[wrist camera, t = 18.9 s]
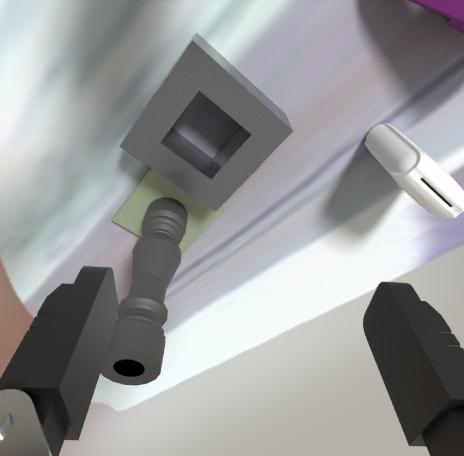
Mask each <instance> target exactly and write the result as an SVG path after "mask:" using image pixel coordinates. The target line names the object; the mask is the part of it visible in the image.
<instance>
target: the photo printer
mask: <svg viewBox="0 0 464 456" xmlns="http://www.w3.org/2000/svg"><path fill="white" fill-rule="evenodd" d="M364 143H365V145H366V147H367V148H368V150H369V151H370V152H371V153H372V155H373V156H374V157H375V158H376V159H377V160H378V161H379V162H380V164H381V165H382V166H383V167H384V168H385V169H386V171H387V172H388V173H389V174H390V175H391V176H392V178H393V179H394V180H395V181H396V182H397V184H398V185H399V186H400V187H401V188H402V189H403V190H404V191H405V192H406V193H407V194H408V195H409V196H411V197H412V198H413V199H414V200H415V201H416V202H417V203H418V204H420V205H421V206H422V207H423V208H424V209H426V210H427V211H428V212H430V213H431V214H433V215H435V216H437V217H440V218H443V219H454V218H456V217H457V216H458V215H459V214H460V213H462V212H464V191H463V189H462V188H461V187H460V186H459V185H458V184H457V183H456V181H455V180H454V179H453V178H452V177H451V176H450V175H449V174H448V173H447V172H446V171H445V170H444V169H442V168H441V167H440V166H439V165H438V164H437V163H436V162H435V161H434V160H433V159H431V158H430V157H429V156H428V155H427V154H426V153H424V152H423V151H422V150H421V149H420V148H419V147H418V146H416V145H415V144H414V143H413V142H412V141H411V140H409V139H408V138H407V137H406V136H405V135H403V134H402V133H401V132H400V131H398V130H397V129H396V128H394V127H393V126H391V125H390V124H388V123H386V122H385V123H384V124H379V125H377V126H375V127H374V128H372V129H371V130H370V131H369V133H368V134H367V136H366V141H365V142H364Z"/></svg>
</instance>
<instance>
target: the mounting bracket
mask: <svg viewBox="0 0 464 456" xmlns="http://www.w3.org/2000/svg"><path fill="white" fill-rule="evenodd" d="M409 1H411V2H413V3H416V4H418V5H420V6H422V7H425V8H427V9H429V10H432V11H434V12H436V13H438V14H441V15H443V16H445V17H447V18H449V21H448V23H449V24H450V25H451V26H452V27H454V28H455V29H457V30H459V31H461V32H463V33H464V0H409Z"/></svg>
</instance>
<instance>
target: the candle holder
mask: <svg viewBox="0 0 464 456" xmlns="http://www.w3.org/2000/svg"><path fill="white" fill-rule="evenodd" d="M187 220H188V213H187V210H186V208H185V206H184V205H183V204H182V203H181V202H179V201H177V200H175V199H173V198H166V197H163V198H158V199H155V200H154V201H153V202H151V203H150V204H149V206H148V208H147V210H146V213H145V216H144V219H143V222H142V236H143V237H142V238H141V239H139V240H138V241H137V243H136V245H135V247H134V249H133V283H132V286H131V290H130V293H129V296H128V297H127V298H125V299H123V300H122V301H121V303H120V305H119V307H118V317H119V319H118V320H117V321H116V325H115V328H114V331H113V334H112V337H111V340H110V343H109V347H108V350H107V353H106V356H105V359H104V362H103V365H102V368H101V371H100V373H101V374H102V375H103V376H104V377H106V378H107V379H109V380H111V381H113V382H116V383H120V384H124V385H141V384H147V383H149V382H151V381H153V380H155V379H156V378H157V377H158V376H159V375H160V372H161V366H162V360H163V354H164V348H165V336H164V330H163V329H162V327H161V326H163V325H164V323H165V322H166V321H167V312H168V311H167V308H166V306H165V305H164V298H165V293H166V289H167V287H168V285H169V283H170V281H171V279H172V278H173V276H174V274H175V272H176V270H177V268H178V267H179V265H180V262H181V250H180V247H179V244H180V243H181V241H182V239H183V236H184V235H185V233H186V226H187Z"/></svg>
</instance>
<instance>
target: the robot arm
mask: <svg viewBox="0 0 464 456" xmlns="http://www.w3.org/2000/svg"><path fill="white" fill-rule="evenodd" d="M37 314H38V315H37V317H35V319H34V320H33V322H32V324H31V326H30V329H29V331H27V333H26V334H25V336H24V338H23V340H22V341H21V343H20V345H19V347H18V349H17V350H16V352H15V354H14V356H13V357H12V359H11V361H10V363H9V364H8V366H7V368H6V370H5V371H4V373H3V375H2V377H1V378H0V456H59V453H60V450H61V447H62V445H63V442H64V440H79V437H80V434H81V431H82V428H83V424H84V421H85V418H86V415H87V412H88V409H89V406H90V403H91V400H92V396H93V393H94V390H95V387H96V384H97V381H98V378H99V375H100V371H101V368H102V365H103V362H104V359H105V356H106V353H107V350H108V347H109V343H110V340H111V337H112V334H113V331H114V328H115V325H116V321H117V315H118V300H117V294H116V287H115V281H114V274H113V270H112V268H109V267H91V266H84V267H82V269H81V270H80V272H79V274H78V276H77V278H76V280H75V282H74V284H61V285H60V286H59V287H58V288H57V289H55V290H54V291H53V292H52V293H51V294H50V295H48V296H47V297H46V299H45V301H44V303H43V304H42V306H41V308H40V310H39V311H38V313H37ZM363 328H364V332H365V336H366V338H367V341H368V343H369V346H370V348H371V351H372V353H373V356H374V359H375V361H376V364H377V366H378V369H379V371H380V373H381V376H382V379H383V381H384V384H385V386H386V389H387V391H388V394H389V396H390V399H391V401H392V404H393V406H394V409H395V411H396V414H397V416H398V419H399V422H400V424H401V427H402V429H403V432H404V434H405V436H406V439H407V442H408V444H409V446H426V447H427V449H428V451H429V454H430V456H464V349H463V348H461V347H460V343H459V342H458V340H457V339H456V337H455V336H454V334H452V333H451V329H450V328H449V326H448V325H447V323H446V322H445V320H444V319H443V318H442V316H441V315H440V314H439V313H438V312H437V311H436V310H435V309H434V308H433V307H431V306H430V305H429V304H428V303H427V302H426V301H421V300H420V298H419V297H418V295H417V293H416V292H415V290H414V289H413V287H412V286H411V285H410V284H408V283H397V282H381V283H380V284H379V285H378V287H377V289H376V291H375V293H374V295H373V298H372V300H371V302H370V304H369V306H368V308H367V310H366V313H365V315H364V319H363Z"/></svg>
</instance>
